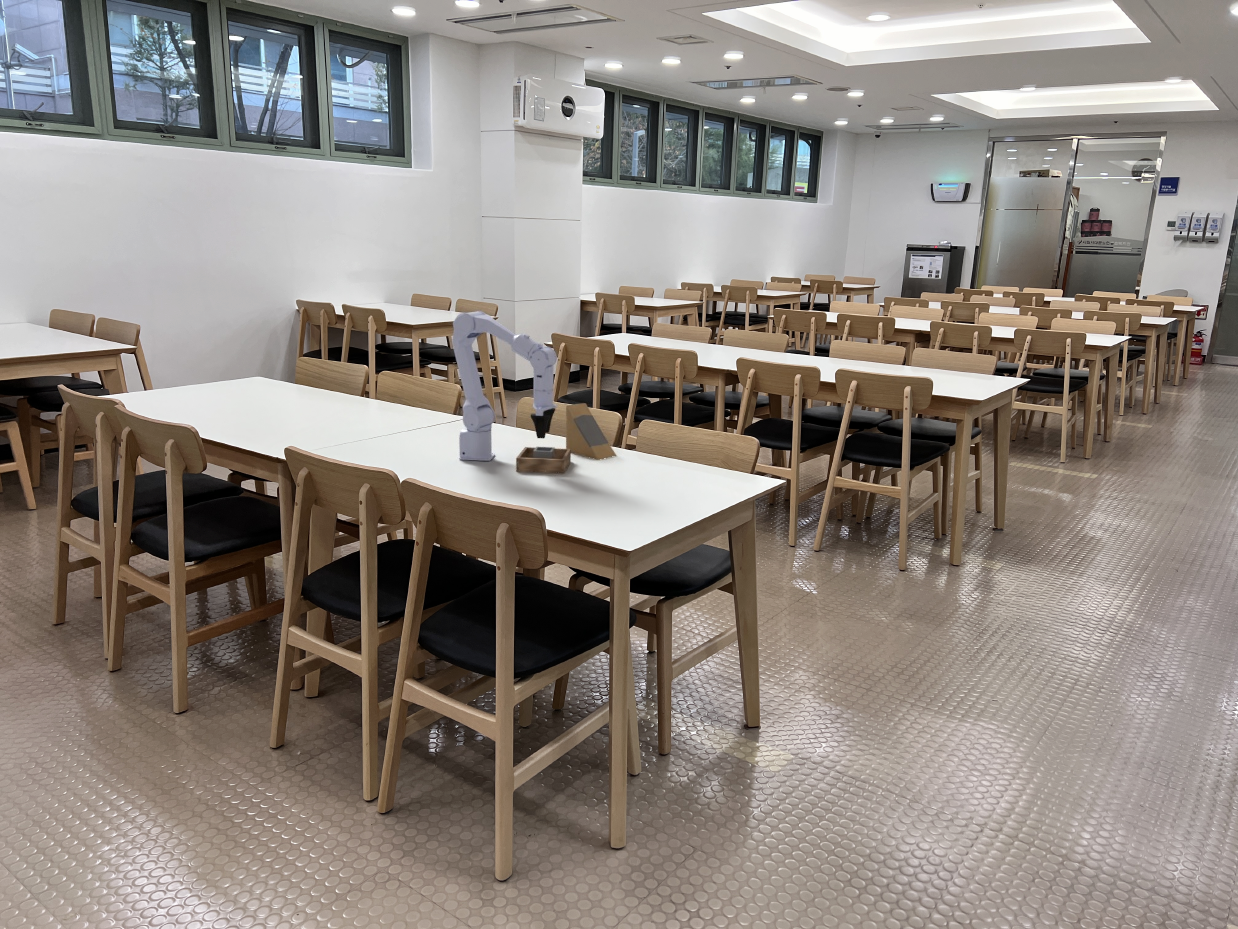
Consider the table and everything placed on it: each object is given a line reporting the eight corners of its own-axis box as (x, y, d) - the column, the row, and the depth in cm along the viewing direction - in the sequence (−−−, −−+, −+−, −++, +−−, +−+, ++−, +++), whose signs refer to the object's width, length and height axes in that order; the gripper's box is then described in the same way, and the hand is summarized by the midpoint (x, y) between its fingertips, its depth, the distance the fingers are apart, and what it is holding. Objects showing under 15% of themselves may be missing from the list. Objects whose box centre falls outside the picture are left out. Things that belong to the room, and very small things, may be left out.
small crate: (533, 465, 256) (533, 450, 254) (536, 461, 261) (536, 446, 260) (551, 466, 255) (552, 451, 254) (554, 461, 260) (554, 447, 259)
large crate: (516, 471, 252) (516, 458, 251) (525, 459, 265) (525, 447, 264) (564, 473, 251) (564, 460, 250) (570, 461, 264) (570, 448, 263)
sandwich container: (598, 460, 267) (599, 412, 264) (565, 451, 278) (565, 405, 274) (618, 456, 273) (619, 409, 270) (584, 447, 284) (585, 402, 280)
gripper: (553, 394, 246) (552, 441, 249) (560, 386, 260) (560, 430, 263) (528, 393, 246) (528, 440, 250) (537, 385, 260) (537, 429, 264)
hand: (543, 435), depth 256 cm, fingers open, 7 cm apart
